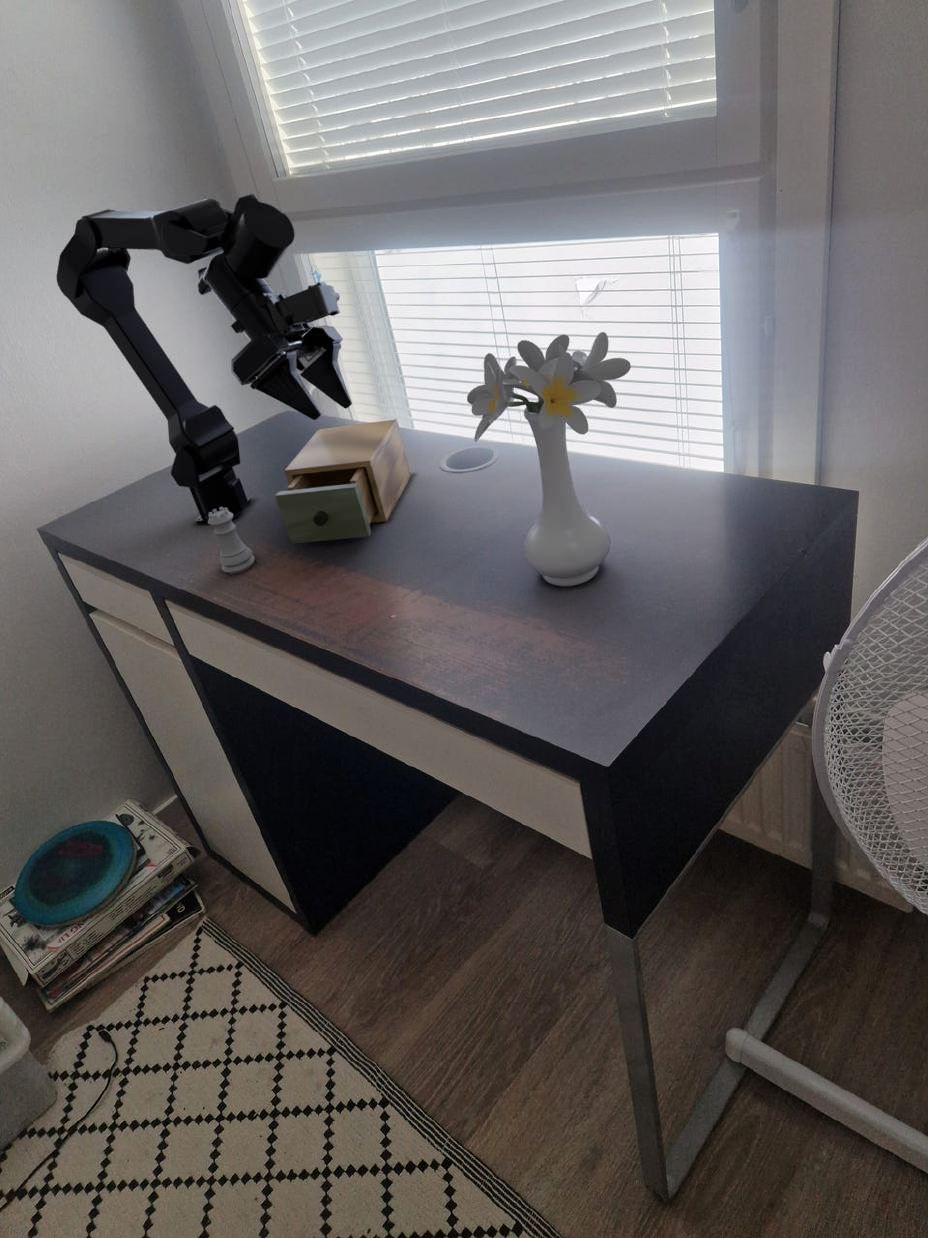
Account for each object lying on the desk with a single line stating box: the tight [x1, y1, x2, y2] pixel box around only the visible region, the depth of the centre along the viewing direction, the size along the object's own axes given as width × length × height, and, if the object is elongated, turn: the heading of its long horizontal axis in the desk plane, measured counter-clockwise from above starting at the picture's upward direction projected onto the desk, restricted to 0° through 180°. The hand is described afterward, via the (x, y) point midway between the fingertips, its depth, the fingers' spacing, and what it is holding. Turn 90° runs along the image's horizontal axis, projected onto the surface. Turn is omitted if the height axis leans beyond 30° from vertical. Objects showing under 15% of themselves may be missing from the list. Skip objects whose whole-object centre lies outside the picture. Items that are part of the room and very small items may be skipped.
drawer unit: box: [284, 419, 412, 524], centre depth 119 cm, size 14×12×9 cm
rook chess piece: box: [207, 507, 256, 575], centre depth 109 cm, size 4×4×8 cm
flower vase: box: [466, 331, 632, 587], centre depth 87 cm, size 13×18×25 cm
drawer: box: [274, 467, 378, 544], centre depth 113 cm, size 14×11×7 cm
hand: (334, 411), depth 102 cm, fingers open, 9 cm apart
